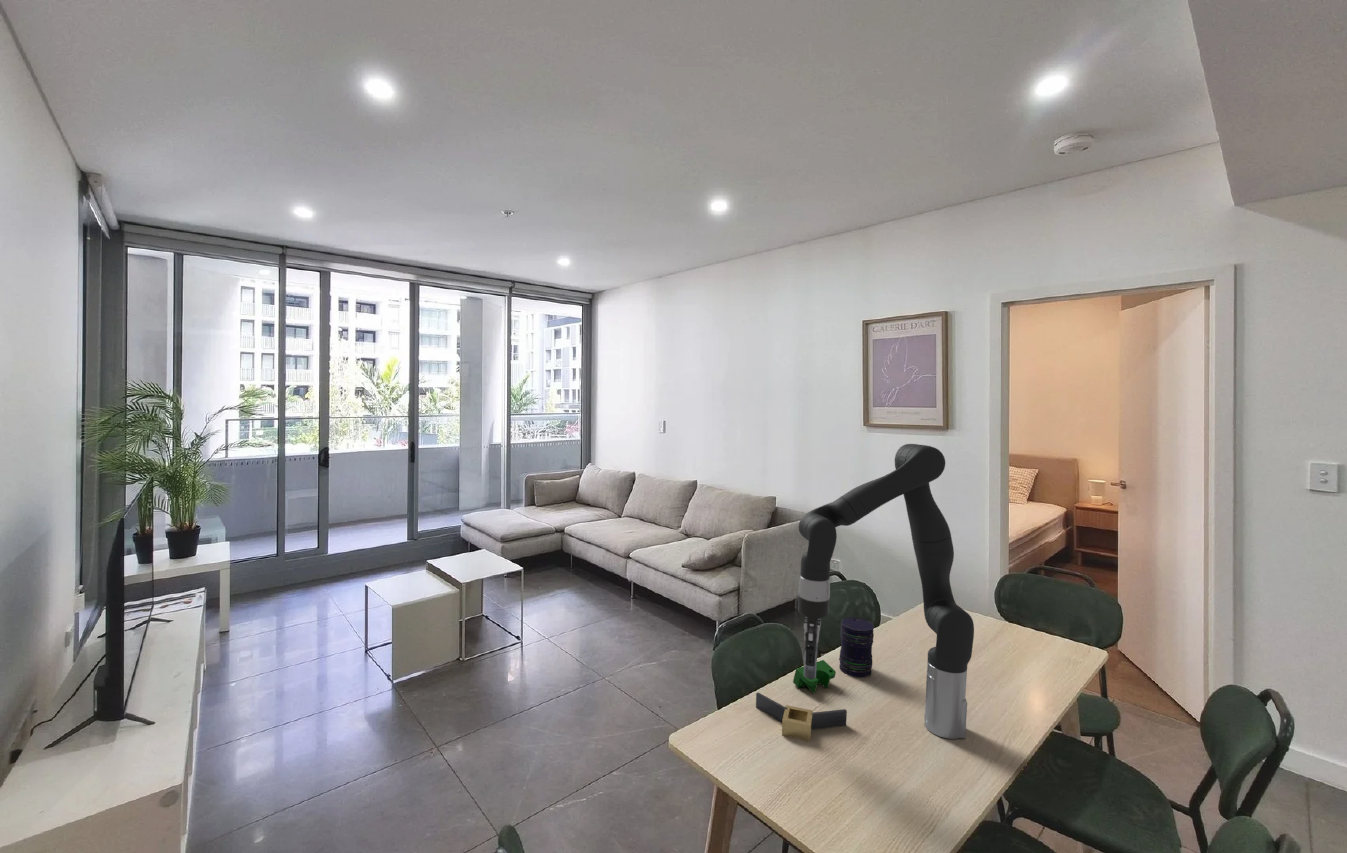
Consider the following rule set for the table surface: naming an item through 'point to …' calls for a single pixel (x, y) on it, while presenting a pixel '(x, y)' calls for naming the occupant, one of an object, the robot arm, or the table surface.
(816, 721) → the hinge
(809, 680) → the clamp
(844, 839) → the table surface
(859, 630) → the storage jar
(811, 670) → the hinge pin
